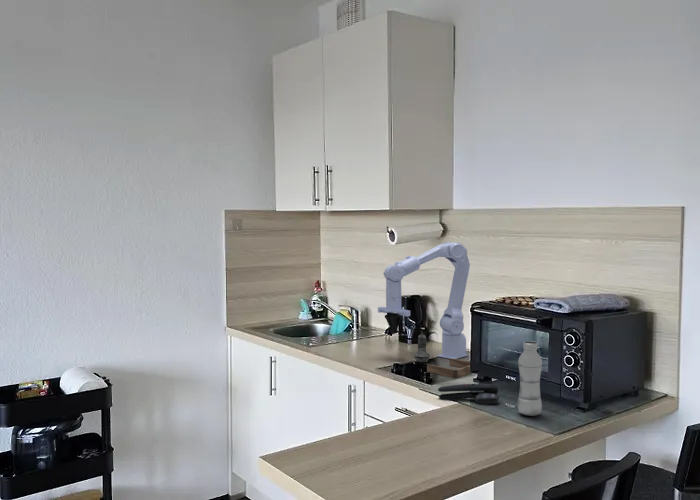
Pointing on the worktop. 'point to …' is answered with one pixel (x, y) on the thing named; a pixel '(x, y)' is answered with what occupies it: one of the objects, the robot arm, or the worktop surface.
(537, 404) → the plastic bottle
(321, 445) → the worktop surface
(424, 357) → the grey stone vase
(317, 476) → the worktop surface
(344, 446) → the worktop surface
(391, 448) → the worktop surface
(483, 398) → the can opener
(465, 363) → the walnut corral
